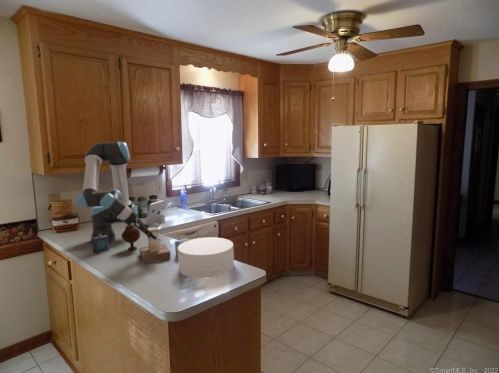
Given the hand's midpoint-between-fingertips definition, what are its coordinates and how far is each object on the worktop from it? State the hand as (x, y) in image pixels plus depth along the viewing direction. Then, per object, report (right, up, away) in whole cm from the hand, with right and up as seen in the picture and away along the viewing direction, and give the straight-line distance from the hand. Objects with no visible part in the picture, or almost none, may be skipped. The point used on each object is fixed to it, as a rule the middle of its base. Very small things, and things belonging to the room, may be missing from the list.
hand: (158, 238), depth 192 cm
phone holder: (-22, 0, +71) cm, 74 cm away
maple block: (-2, -6, 0) cm, 7 cm away
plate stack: (+29, -12, -16) cm, 36 cm away
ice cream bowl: (-19, -9, +14) cm, 26 cm away
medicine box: (+14, -10, +2) cm, 17 cm away
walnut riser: (-2, -10, +1) cm, 10 cm away
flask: (-37, -10, +12) cm, 40 cm away
